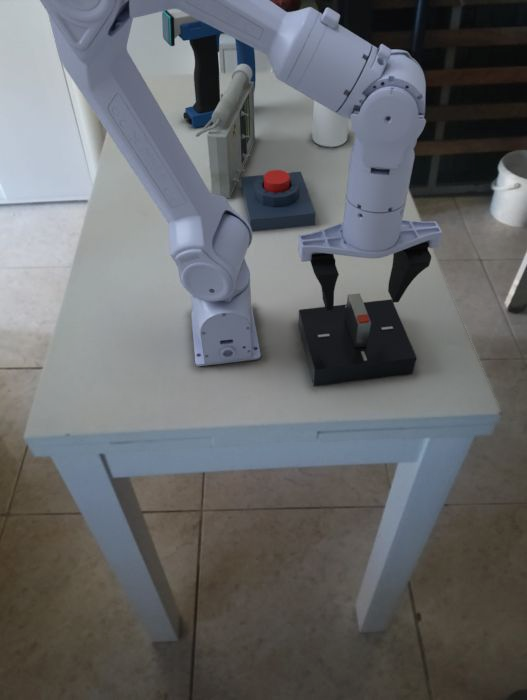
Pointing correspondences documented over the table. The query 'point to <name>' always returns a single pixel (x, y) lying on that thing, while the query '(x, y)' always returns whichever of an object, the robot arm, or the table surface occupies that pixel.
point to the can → (328, 127)
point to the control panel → (338, 349)
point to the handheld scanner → (203, 61)
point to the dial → (357, 320)
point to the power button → (276, 181)
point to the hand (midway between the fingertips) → (360, 300)
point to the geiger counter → (231, 132)
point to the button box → (277, 204)
